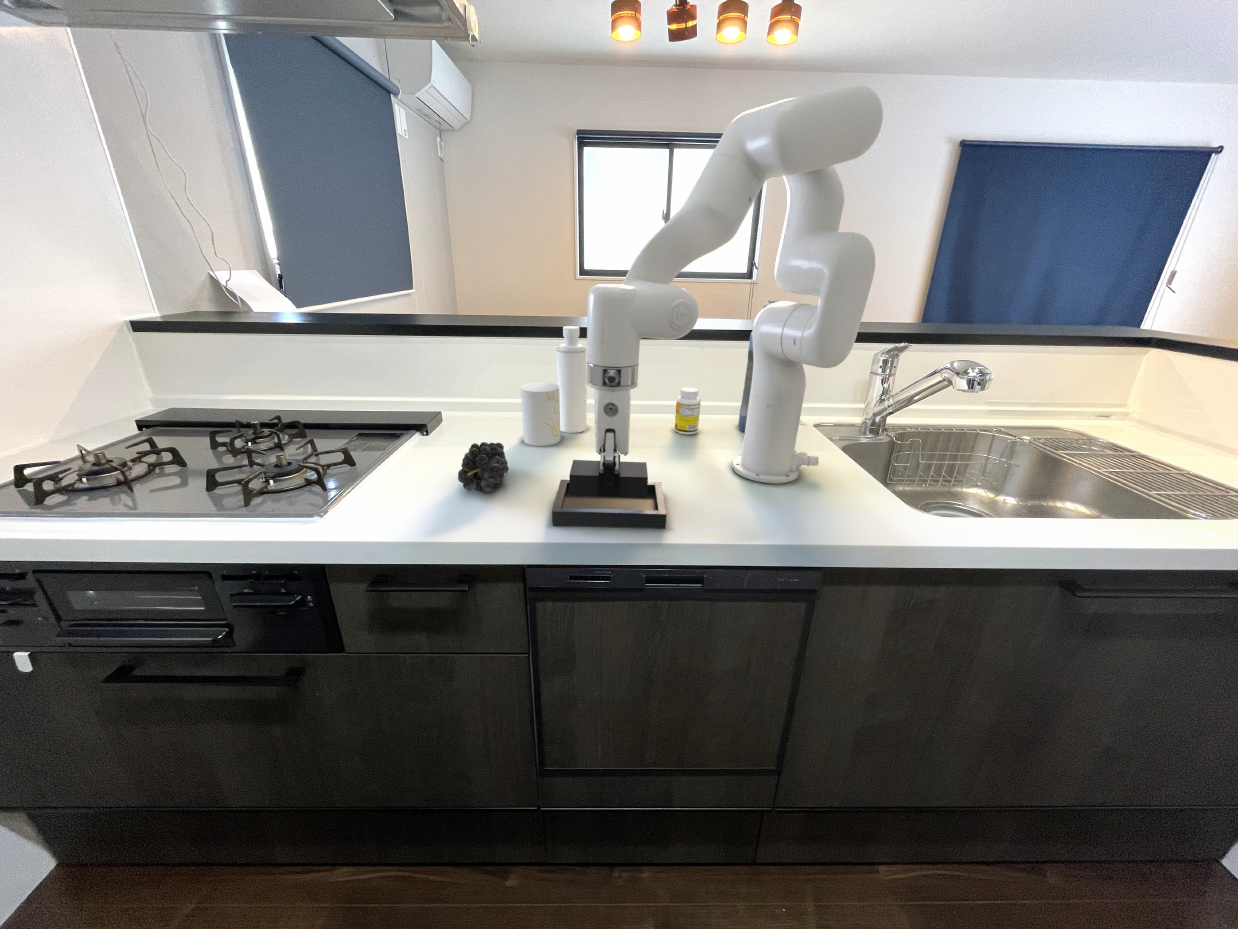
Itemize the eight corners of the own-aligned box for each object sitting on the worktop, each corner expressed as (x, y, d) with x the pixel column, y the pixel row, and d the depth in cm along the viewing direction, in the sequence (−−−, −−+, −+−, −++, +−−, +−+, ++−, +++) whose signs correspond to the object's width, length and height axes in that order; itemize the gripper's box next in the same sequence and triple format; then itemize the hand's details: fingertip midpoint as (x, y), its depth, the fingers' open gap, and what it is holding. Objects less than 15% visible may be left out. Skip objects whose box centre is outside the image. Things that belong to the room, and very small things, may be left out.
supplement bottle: (679, 426, 120) (682, 385, 116) (700, 430, 118) (705, 388, 114) (670, 432, 116) (673, 390, 112) (693, 437, 114) (697, 393, 110)
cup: (553, 447, 105) (552, 393, 100) (518, 444, 107) (514, 390, 102) (565, 435, 113) (564, 383, 108) (531, 431, 114) (529, 380, 109)
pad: (645, 481, 82) (646, 462, 80) (646, 497, 76) (648, 477, 75) (573, 479, 82) (573, 459, 80) (569, 495, 76) (569, 474, 75)
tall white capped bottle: (592, 428, 117) (592, 320, 107) (570, 435, 113) (568, 322, 103) (574, 422, 121) (573, 317, 111) (552, 427, 117) (549, 319, 107)
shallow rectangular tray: (660, 495, 86) (661, 482, 85) (665, 528, 76) (666, 514, 75) (561, 492, 86) (560, 479, 85) (552, 525, 76) (551, 511, 75)
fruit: (482, 419, 93) (459, 446, 79) (524, 433, 94) (509, 462, 80) (471, 459, 96) (447, 492, 82) (512, 472, 97) (495, 507, 83)
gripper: (639, 390, 64) (633, 512, 71) (636, 363, 80) (631, 465, 87) (582, 388, 64) (581, 510, 71) (590, 361, 80) (589, 464, 87)
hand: (609, 484), depth 79 cm, fingers closed on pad, 6 cm apart
